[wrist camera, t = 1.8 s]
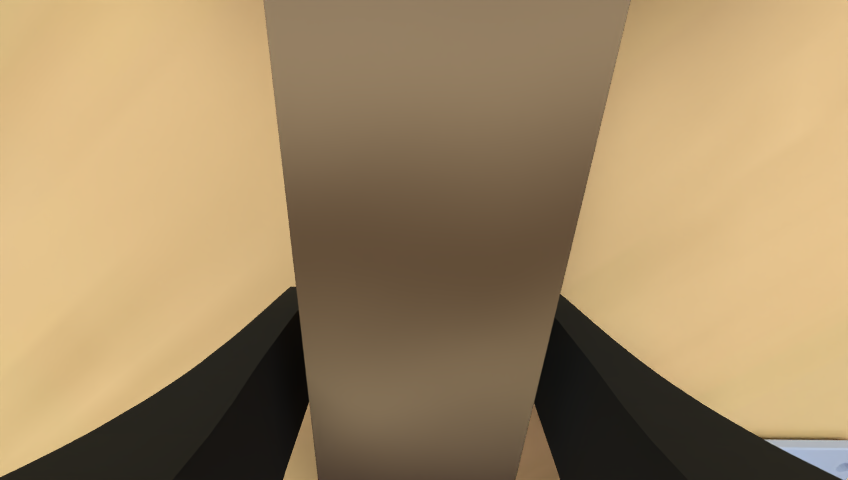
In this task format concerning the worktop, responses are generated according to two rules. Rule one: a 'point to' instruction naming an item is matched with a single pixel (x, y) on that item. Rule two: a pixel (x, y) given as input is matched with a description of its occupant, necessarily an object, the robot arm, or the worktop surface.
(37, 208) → the worktop surface
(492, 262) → the brown wooden bar
